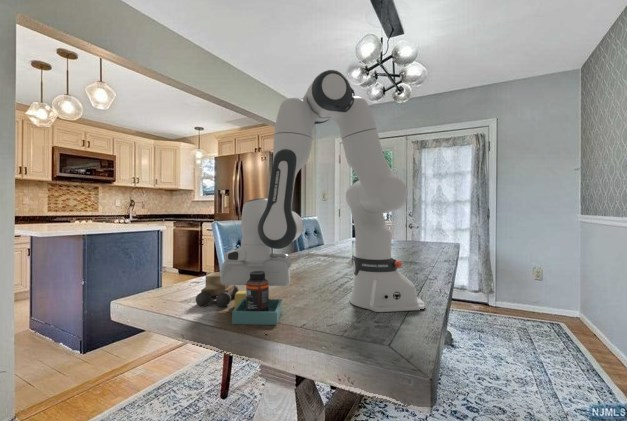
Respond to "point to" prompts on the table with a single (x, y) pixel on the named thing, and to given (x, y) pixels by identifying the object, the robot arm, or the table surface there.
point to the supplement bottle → (257, 292)
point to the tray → (257, 314)
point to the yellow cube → (239, 297)
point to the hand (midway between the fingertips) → (255, 300)
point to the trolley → (216, 291)
